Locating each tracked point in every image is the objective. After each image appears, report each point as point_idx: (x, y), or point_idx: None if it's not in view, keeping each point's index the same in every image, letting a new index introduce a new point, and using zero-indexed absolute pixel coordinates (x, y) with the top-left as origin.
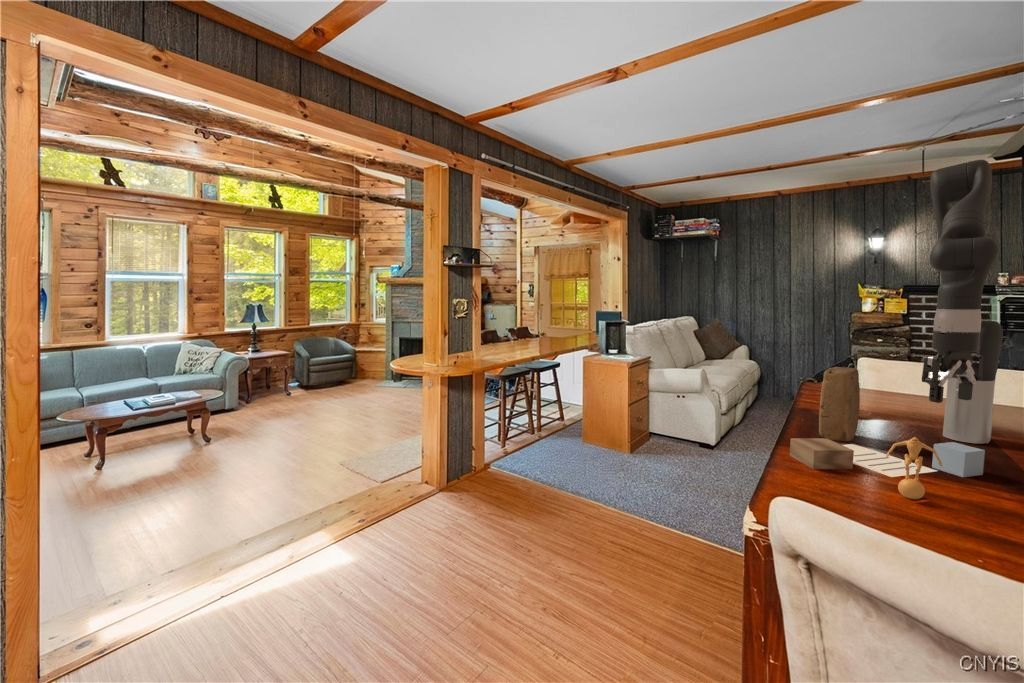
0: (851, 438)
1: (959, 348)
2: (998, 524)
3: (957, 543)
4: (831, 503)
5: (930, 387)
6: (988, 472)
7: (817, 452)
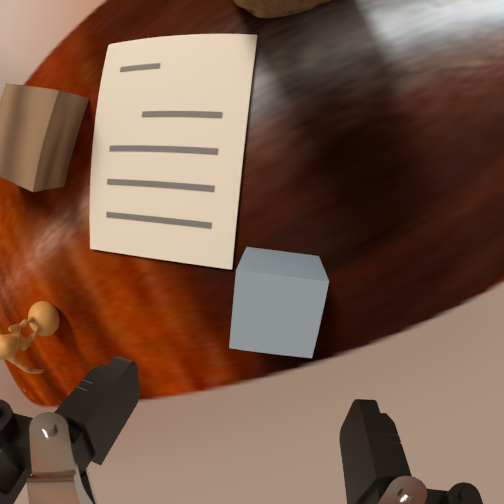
0: (282, 14)
1: None
2: None
3: (26, 375)
4: None
5: (59, 410)
6: (351, 313)
7: None
